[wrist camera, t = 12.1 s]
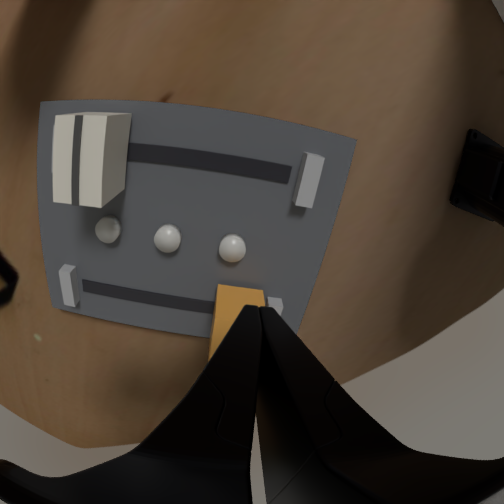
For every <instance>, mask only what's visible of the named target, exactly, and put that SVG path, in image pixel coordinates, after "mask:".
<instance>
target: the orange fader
mask: <svg viewBox="0 0 504 504" xmlns="http://www.w3.org/2000/svg"><path fill="white" fill-rule="evenodd" d="M246 304H248V305H257V306H258V307H260V306H265V301H264V294H263V290H258V289H250V288H243V287H236V286H228V285H221V284H218V287H217V293H216V299H215V306H214V312H213V319H212V326H211V333H210V343H209V355H208V362H209V360H210V359H211V357H212V355H213V354H214V352H215V351H216V349H217V348H218V346H219V345H220V343H221V341H222V340H223V338H224V337H225V335H226V333H227V332H228V330H229V329H230V327H231V326H232V324H233V322H234V321H235V319H236V318H237V316H238V314H239V313H240V311H241V310H242V308H243V306H244V305H246Z"/></svg>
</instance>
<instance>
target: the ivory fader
mask: <svg viewBox="0 0 504 504" xmlns="http://www.w3.org/2000/svg"><path fill="white" fill-rule="evenodd" d="M131 116H132V113H111V112H81V113H72V114H63V115H55V127H54V143H53V202H58V203H66V204H72V205H73V206H79V205H82V206H90V207H98V208H102V207H103V206H104V205H105V204H107V203H108V202H109V201H110V200H112V199H113V198H114V197H115V196H116V195H118V194H119V193H120V192H121V191H123V190H124V189H125V174H126V161H127V150H128V141H129V132H130V124H131Z"/></svg>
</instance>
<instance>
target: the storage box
mask: <svg viewBox="0 0 504 504" xmlns="http://www.w3.org/2000/svg"><path fill="white" fill-rule="evenodd" d="M492 2H493V4H494V6H495V7H496V9H497V11H498V13H499V15H500V17H501V19H502V20H503V22H504V0H492Z"/></svg>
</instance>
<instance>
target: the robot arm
mask: <svg viewBox="0 0 504 504" xmlns="http://www.w3.org/2000/svg"><path fill="white" fill-rule="evenodd" d="M473 134H474V137H473ZM455 199H456V201H455ZM450 203H451V204H452V205H453V206H455V207H457V208H460V209H463V210H465V211H468V212H470V213H473V214H476V215H478V216H481V217H483V218H486V219H488V220H490V221H496V222H497V223H499V224H500V225H502V226H503V227H504V148H503V147H502V146H500V145H499V144H497V143H496V142H494V141H493V140H491V139H490V138H488V137H487V136H485V135H484V134H482V133H481V132H479V131H477V130H475V129H470V130H469V131H468V135H467V139H466V143H465V148H464V152H463V155H462V159H461V163H460V167H459V170H458V174H457V177H456V181H455V184H454V187H453V190H452V193H451V197H450ZM334 380H335V379H334V378H333V376H332V375H331V374H330V373H329V372H328V371H327V370H326V368H325V367H324V366H323V365H322V364H321V363H320V362H319V360H318V359H317V358H316V357H315V356H314V355H313V353H312V352H311V351H310V350H309V349H308V348H307V346H306V345H305V344H304V343H303V342H302V341H301V339H300V338H299V337H298V336H297V335H296V334H295V332H294V331H293V330H292V329H291V328H290V327H289V325H288V324H287V323H286V322H285V321H284V320H283V318H282V317H281V316H280V315H279V314H278V312H277V311H276V310H275V309H274V308H273V307H267V306H260V307H258V306H257V305H248V304H246V305H244V306H243V308H242V310H241V311H240V313H239V314H238V316H237V318H236V319H235V321H234V322H233V324H232V326H231V327H230V329H229V330H228V332H227V333H226V335H225V337H224V338H223V340H222V341H221V343H220V345H219V346H218V348H217V349H216V351H215V352H214V354H213V355H212V357H211V359H210V360H209V362H208V363H207V365H206V366H205V368H204V370H203V371H202V373H201V374H200V375H199V377H198V378H197V380H196V382H195V383H194V384H193V386H192V387H191V389H190V390H189V391H188V393H187V394H186V395H185V397H184V398H183V399H182V400H181V401H180V402H179V404H178V405H177V406H176V407H175V408H174V409H173V410H172V411H171V412H170V414H169V415H168V416H167V417H166V418H165V419H164V420H163V421H162V422H161V423H160V424H159V425H158V426H157V427H156V428H155V429H154V430H153V431H152V432H151V433H150V434H149V436H148V437H147V438H146V439H145V440H143V441H142V442H141V443H140V444H139V445H138V446H137V447H135V448H134V449H133V450H131V451H130V452H128V453H126V454H124V455H122V456H119V457H117V458H114V459H112V460H109V461H107V462H104V463H102V464H99V465H97V466H94V467H91V468H88V469H86V470H83V471H80V472H77V473H74V474H71V475H68V476H63V477H44V476H40V475H37V474H34V473H32V472H29V471H27V470H26V469H23V468H21V467H20V466H17V465H15V464H14V463H11V462H9V461H7V460H3V459H0V499H1V500H2V501H4V502H6V503H7V504H253V502H252V492H251V480H250V461H251V450H252V442H253V432H254V423H255V413H256V417H257V426H258V435H259V444H260V452H261V460H262V469H263V477H264V486H265V494H266V502H267V504H504V457H502V458H500V459H495V460H473V459H464V458H455V457H449V456H441V455H435V454H429V453H424V452H419V451H416V450H413V449H411V448H409V447H407V446H405V445H404V444H402V443H401V442H400V441H398V440H397V439H396V438H395V437H394V436H393V435H391V434H390V433H389V432H388V431H387V430H386V429H385V428H384V427H382V426H381V425H380V424H379V423H378V422H377V421H375V419H373V418H372V417H371V416H370V415H369V414H368V413H367V412H366V411H365V410H364V409H363V408H361V407H360V406H359V405H358V404H357V403H356V402H355V401H354V400H353V399H352V398H351V397H350V395H349V394H348V393H347V392H346V391H345V390H344V389H343V388H342V387H341V386H340V384H339V383H338V382H337V381H334Z"/></svg>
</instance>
